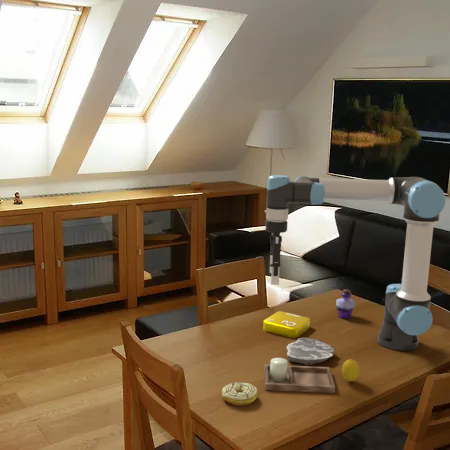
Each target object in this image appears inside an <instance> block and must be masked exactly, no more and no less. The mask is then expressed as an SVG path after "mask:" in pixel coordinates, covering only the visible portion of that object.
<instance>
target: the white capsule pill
mask: <svg viewBox="0 0 450 450" xmlns="http://www.w3.org/2000/svg"><path fill="white" fill-rule="evenodd" d="M288 364H289V363H288V359H285V358H282V357H273V358H272V359H270V364H269V365H270V380H272V381H274V382H279V383H280V382H285V381H286V380H287V368H288V366H289V365H288Z"/></svg>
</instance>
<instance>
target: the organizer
mask: <svg viewBox="0 0 450 450" xmlns="http://www.w3.org/2000/svg"><path fill="white" fill-rule="evenodd" d="M263 373H264V374H263V375H264V377H263V378H264V390H265V391H282V392H283V391H284V392H304V393H305V392H307V393H324V394H325V393H330V394H331V393H332V394H336V385H335V382H334V379H333V374H332V371H331V369H330V367H329V366H327V367H326V366H312V365H303V366H302V365H288V368H287V380H286V381H285V382H280V383H279V382H274V381H272V380H270V364H263Z"/></svg>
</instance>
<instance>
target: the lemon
mask: <svg viewBox="0 0 450 450" xmlns="http://www.w3.org/2000/svg"><path fill="white" fill-rule="evenodd" d="M341 374H342V376H343V379H345V381H348V382H349V383H351V382H354V381H356V380H358V378H359V374H360V366H359V363H358V362H357V361H356V360H354V359H352V358H350V359H347V360H345V361H344V362H343V365H342V369H341Z"/></svg>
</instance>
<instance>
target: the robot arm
mask: <svg viewBox="0 0 450 450" xmlns="http://www.w3.org/2000/svg"><path fill="white" fill-rule="evenodd" d="M326 199H327V200H351V201H374V202H375V201H376V202H379V201H380V202H387V204H389V205H398V206H403V220H404V221H405V222H406V224H407V225H406V234H405V244H404V245H405V246H404V254H403V255H404V257H403V265H402V274H401V275H402V277H401V283H391V284H388V285H387V286H386V291H385V303H384V313H383V322H382V325H381V327H380V328H379V331H378V333H377V337H376V338H377V342H378V345H381V346H383V347H384V348H386V349H391V350H394V351H404V352H406V351H414V350H415V349H417V348H419V341H420V339H419V337H418V336H419V335H422V334H423V335H424V333H425V332H427V331H428V330H430V328H431V326H432V324H433V320H434V318H433V314H432V311H431V310H430V308H431V307H430V306H431V298H432V297H431V295H430V294H429V293H428V290H427V289H428V284H429V283H428V282H429V271H430V263H431V255H432V253H431V251H432V246H433V245H432V243H433V233H434V226H435V225H436V224H438V222H439V221H440V214H441V212H442V211H443V209H444V208H445V206H446V196H445V192H444V190H443V189H442V188H441V187H440V186H439V185H438V184H437V183H435V182H433V181H431V180H428V179H426V178H425V177H424V178H423V177H420V176H409V177H408V176H407V177H406V176H405V177H404V176H403V177H389V179H365V178H364V179H362V178H361V179H359V178H328V177H327V178H326V177H325V178H323V177H318V178H317V177H308V176H299V177H297V178H296V179H295V180H294V181H291V178H290V176H289V175H282V174H273V175H270V176H269V177H268V178H267V186H266V209H265V210H264V213H265V214H266V216H265V217H266V220H265V231H266V232H268V233H271V235H269V242H270V248H269V251H270V253H269V254H270V255H269V257H270V258H269V259H270V260H269V274H271V275H270V276H271V277H270V285H271V286H272V285H273V286H274V285H275V286H276V285H277V286H279V285H280V273H281V272H280V269H281V268H280V267H281V249H282V242H283V241H282V240H283V237H282V235H281V233H286V232H287V231H288V221H287V220H288V219H289V204H293V205H295V204H296V205H297V204H299V205H312V206H313V205H321V204H323V203H324V201H325V200H326Z"/></svg>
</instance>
